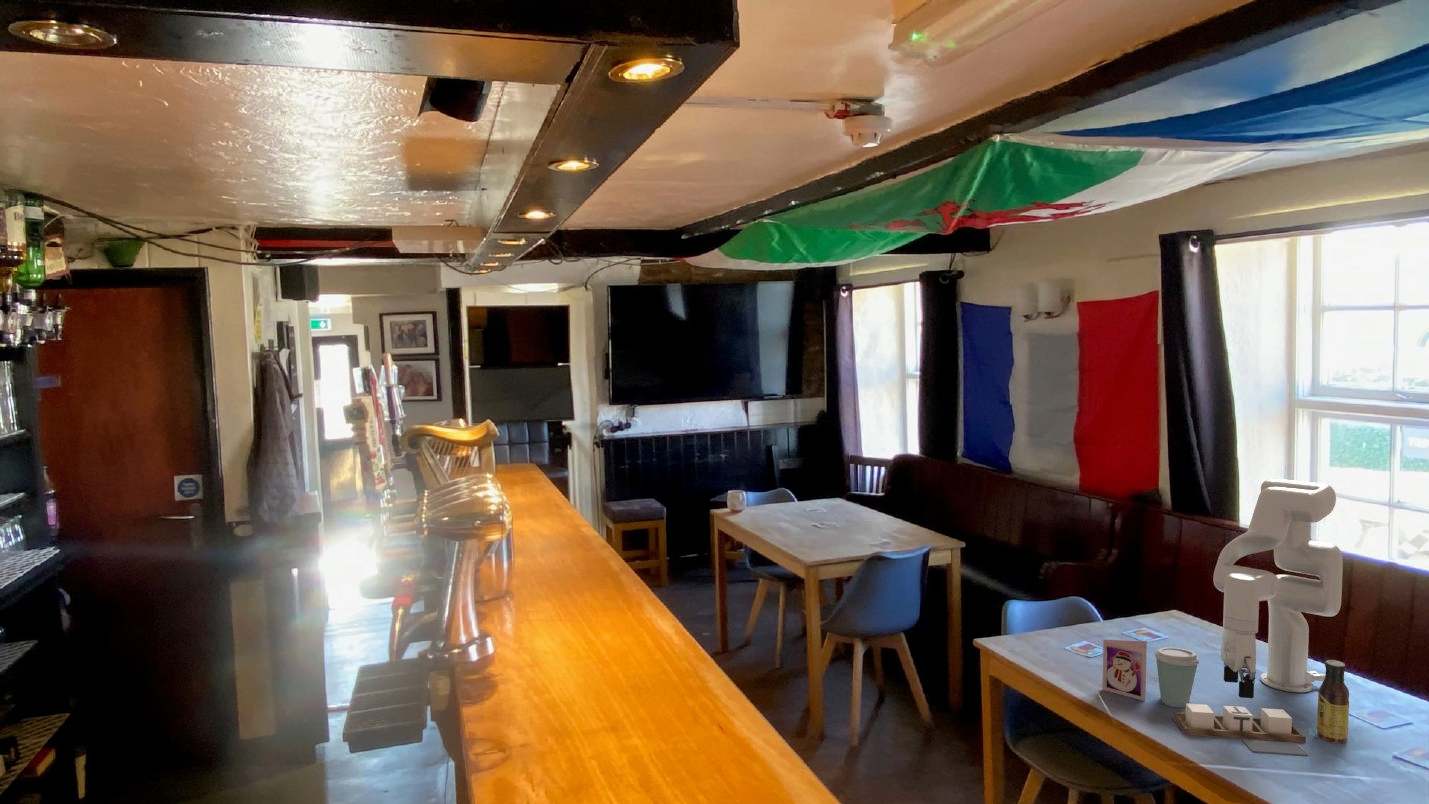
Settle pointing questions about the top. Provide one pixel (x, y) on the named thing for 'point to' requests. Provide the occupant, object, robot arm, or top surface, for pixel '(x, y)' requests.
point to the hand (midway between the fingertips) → (1238, 689)
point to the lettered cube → (1237, 718)
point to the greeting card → (1125, 667)
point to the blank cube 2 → (1275, 721)
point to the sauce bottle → (1333, 704)
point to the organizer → (1223, 732)
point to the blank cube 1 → (1199, 716)
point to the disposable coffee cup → (1176, 675)
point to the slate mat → (1274, 747)
